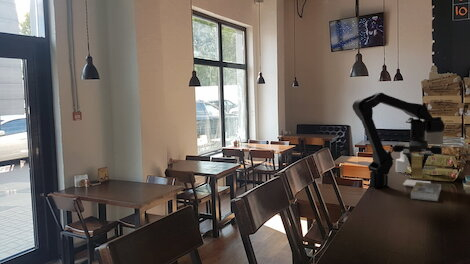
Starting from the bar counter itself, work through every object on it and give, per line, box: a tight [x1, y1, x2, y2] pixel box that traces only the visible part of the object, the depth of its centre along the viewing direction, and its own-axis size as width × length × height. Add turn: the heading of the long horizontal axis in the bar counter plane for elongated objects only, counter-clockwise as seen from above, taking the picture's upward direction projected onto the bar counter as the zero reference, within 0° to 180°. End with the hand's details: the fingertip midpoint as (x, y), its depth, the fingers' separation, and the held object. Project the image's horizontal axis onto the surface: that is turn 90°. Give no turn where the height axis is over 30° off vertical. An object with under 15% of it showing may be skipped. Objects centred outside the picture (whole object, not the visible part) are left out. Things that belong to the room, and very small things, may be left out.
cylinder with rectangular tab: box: [395, 151, 409, 174], centre depth 188 cm, size 9×9×12 cm
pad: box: [402, 179, 432, 187], centre depth 162 cm, size 10×10×1 cm
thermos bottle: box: [425, 130, 444, 145], centre depth 180 cm, size 8×8×28 cm
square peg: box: [410, 154, 424, 179], centre depth 162 cm, size 4×4×9 cm
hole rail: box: [410, 182, 442, 202], centre depth 147 cm, size 18×9×2 cm, turn 147°
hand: (417, 168), depth 162 cm, fingers closed on square peg, 4 cm apart
